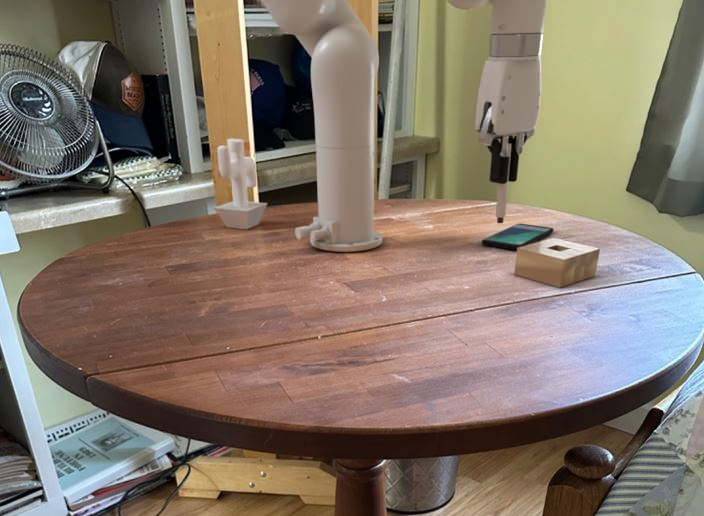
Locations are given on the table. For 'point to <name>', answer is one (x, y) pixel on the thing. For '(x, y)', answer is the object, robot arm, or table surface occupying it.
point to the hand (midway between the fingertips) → (503, 180)
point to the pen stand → (556, 262)
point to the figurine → (238, 186)
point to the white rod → (502, 194)
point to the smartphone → (517, 236)
